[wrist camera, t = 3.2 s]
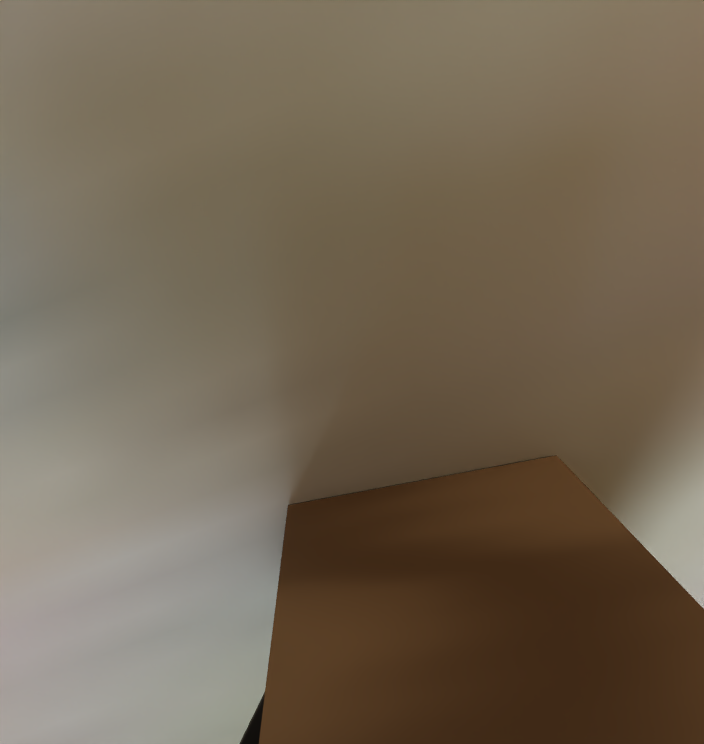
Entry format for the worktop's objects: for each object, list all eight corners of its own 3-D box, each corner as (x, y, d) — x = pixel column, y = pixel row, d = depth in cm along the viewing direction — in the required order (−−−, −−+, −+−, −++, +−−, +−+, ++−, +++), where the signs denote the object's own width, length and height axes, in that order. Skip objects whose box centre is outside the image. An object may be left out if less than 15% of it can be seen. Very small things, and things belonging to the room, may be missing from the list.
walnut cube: (338, 689, 10) (351, 1126, 5) (287, 505, 8) (237, 909, 3) (559, 648, 10) (776, 1050, 5) (556, 455, 8) (879, 792, 3)
